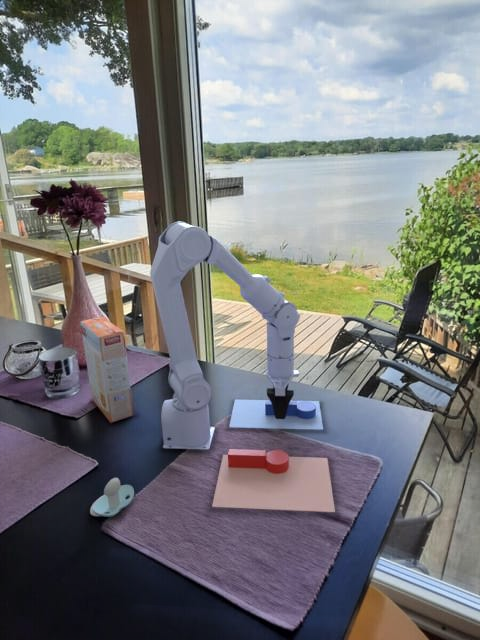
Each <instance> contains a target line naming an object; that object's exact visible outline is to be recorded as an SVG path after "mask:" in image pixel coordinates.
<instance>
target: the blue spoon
mask: <svg viewBox="0 0 480 640" xmlns="http://www.w3.org/2000/svg"><path fill="white" fill-rule="evenodd" d="M265 400H266V401H265V415H274V411H273V406H272V403H271V401H270V399H265ZM297 401H298V400H290V402H289V405H288V409H287V414H286V416H298V417H299V418H302V419H311V418H314V417H315V415H316V406H315V404H314V403H312V402H308V401H309V400H302V401H303V402H299V403H297Z"/></svg>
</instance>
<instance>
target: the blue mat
mask: <svg viewBox="0 0 480 640" xmlns="http://www.w3.org/2000/svg"><path fill="white" fill-rule="evenodd" d="M266 400H267V399H234V403H233V407H232V412H231V415H230V416H231V417H230V421H229V426H228V427H229V428H236V429H237V428H240V429H274V430H275V429H281V430H315V431H316V430H317V431H318V430H321V431H324V426H323V419H322V411H321V405H320V400H307V401H308V402H312V403H314V404H315V406H316V415H315V417H314V418H311V419H302V418H299V417H298V416H286V418H285V419H276V418H275V415H265V401H266ZM296 401H297V403H299V402H303V401H304V400H296Z"/></svg>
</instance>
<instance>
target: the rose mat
mask: <svg viewBox="0 0 480 640" xmlns="http://www.w3.org/2000/svg"><path fill="white" fill-rule="evenodd" d="M211 508H224V509H225V508H228V509H229V508H230V509H249V510H251V509H252V510H274V511H295V512H297V511H298V512H317V513H336V508H335V501H334V495H333V488H332V480H331V474H330V466H329V460H328V457H312V456H308V457H307V456H289V468H288V470H287V471H286V472H284V473H280V474H275V473H271V472H269V471H268V470H267V469H260V468H231V467H228V454H222V458H221V462H220V467H219V473H218V477H217V481H216V486H215V491H214V496H213V500H212V505H211Z"/></svg>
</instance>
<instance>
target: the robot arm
mask: <svg viewBox="0 0 480 640" xmlns="http://www.w3.org/2000/svg"><path fill="white" fill-rule="evenodd" d="M157 244H158V245H157V249H156V251H155V255H154V258H153V261H152V265H151V267H150V271H149V275H150V276H149V277H150V281H151V285H152V288H153V289H152V290H153V293H154V299H155V303H156V306H157V310H158V314H159V318H160V322H161V326H162V331H163V334H164V339H165V343H166V347H167V351H168V356H169V362H168V367H169V373H168V377H167V381H168V382H167V383H168V384H169V386H170V388H171V389H172V390H173V392H174V393H173V396H172V398H171V399H165V400H164V401H163V404H162V407H161V413H160V414H161V416H160V419H161V430H162V432H161V433H162V441H163V445H162V448H163V449H176V450H177V449H179V450H181V449H182V450H209V449H210V448H211V444H212V440H213V437H214V432H215V430H216V427H214V426H211V422H210V421H211V420H210V407H209V406H210V405H209V402H210V400H211V398H212V387H211V386H210V384H209V383H208V382H207V381H206V379H205V378H204V373H203V371H202V368H201V365H200V364H199V361H198V358H197V353H196V350H195V344H194V341H193V336H192V332H191V331H192V330H191V326H190V323H189V322H190V321H189V317H188V313H187V308H186V304H185V303H186V302H185V298H184V295H183V289H182V285H181V281H182V280H183V278H184V277H185V276H186V274H187V273H189V271H190V270H191V269H193V268H195V267H196V266H197V265H200V263H202V262H204V263H206V264H211V265H214V266H215V267H216V268H218V269H219V270H220V271H221V272H222V273H223V274H225V275H226V276H227V277H228V278H230V279H231V280H232V281H233V282H235V283H236V285H238V286H239V293H240V296H241V297H242V299H244V300H245V301H246V302H247V303H248V304H249V305H251V306H252V308H254V309H255V310H256V311H257V312H258V313H259V314H260V315H261V317H262V319H263V320H265V321H266V373H265V374H266V378H267V379H268V380H269V382H270V383H271V385H272V387H271V388H270V387H268V388H266V396H267V398H268V400H270V401H271V403H272V406H273V411H274V415H275V418H276V419H285V418H286V414H287V409H288V405H289V402H290V401H292V399H293V397H294V395H295V392H294V391H295V390H292V389H288V388H289V385H290V383H291V382H292V380H293V379H294V378H298V377H299V376H300V371H299V370H298V369H295V368H294V366H295V331H296V326H297V325H298V323H299V321H300V318H301V314H300V313H299V311H298V308H297V306H296V305H295V304H294V303H292V302H291V301H288V300H286V299H285V293H283V292H282V291H278V290H277V288H275V287H274V286H273V285H272V284H271V282H272V279H270V278H269V276H266V275H262V274H258V273H257V274H251V273H250V271H249V270H248V269H247V268H245V266H244V265H243V264H242V263H241V262H240V261H239V260H238V259H237V258H236V257H235V256H234V255H233V254H232V253H231V251H229V250H228V248H226V246H224V244H222V243H221V242H220V241H219V240H218V239H217V238H215V237H214V236H212V235H210V234H209V233H208V232H207V231H206V230H205V229H204V228H202V227H200V226H197V225H196V226H195V225H191V224H189V223H187V222H184V221H175V222H172V223H170V224H169V225H168V227H166V228H165V230H164V231H163V232H162V233H161V234H160V235H159V237H158V243H157Z"/></svg>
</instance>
